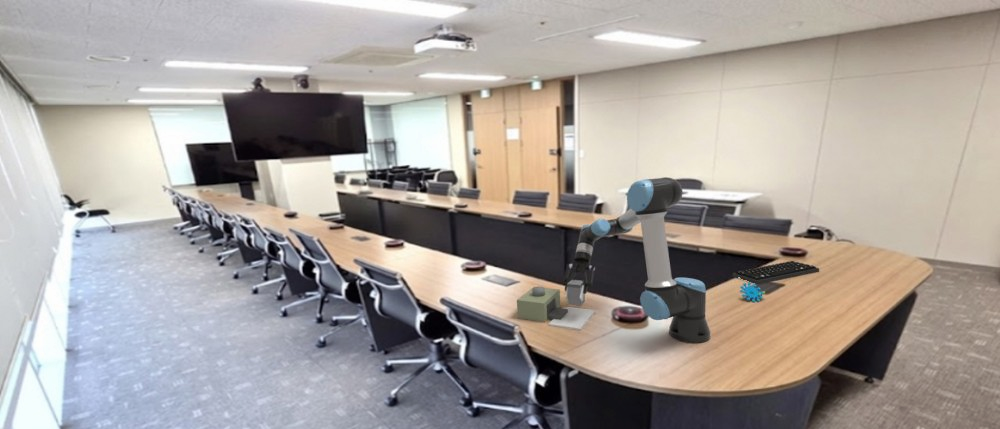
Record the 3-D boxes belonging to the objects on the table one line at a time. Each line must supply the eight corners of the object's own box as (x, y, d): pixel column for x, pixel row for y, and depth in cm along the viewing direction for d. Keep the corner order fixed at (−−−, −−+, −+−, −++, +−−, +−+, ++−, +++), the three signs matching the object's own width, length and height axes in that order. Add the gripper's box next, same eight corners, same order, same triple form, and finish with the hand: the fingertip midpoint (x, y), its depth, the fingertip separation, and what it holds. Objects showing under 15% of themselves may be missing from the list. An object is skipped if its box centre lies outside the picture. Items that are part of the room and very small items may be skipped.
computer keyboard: (757, 285, 219) (757, 278, 219) (732, 277, 234) (732, 271, 234) (819, 272, 232) (819, 266, 232) (791, 266, 247) (791, 259, 247)
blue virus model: (743, 299, 196) (739, 280, 202) (738, 304, 201) (734, 286, 207) (768, 302, 195) (763, 283, 200) (762, 307, 199) (758, 288, 205)
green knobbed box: (595, 311, 199) (594, 287, 197) (580, 330, 179) (579, 303, 177) (535, 303, 215) (533, 281, 213) (515, 320, 195) (513, 296, 193)
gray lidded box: (585, 301, 192) (584, 280, 190) (581, 306, 186) (580, 285, 185) (572, 300, 195) (571, 279, 193) (567, 304, 189) (566, 283, 188)
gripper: (605, 259, 196) (596, 304, 185) (566, 257, 206) (556, 299, 194) (601, 251, 191) (592, 297, 179) (562, 249, 200) (551, 292, 189)
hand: (573, 298), depth 187 cm, fingers closed on gray lidded box, 6 cm apart
